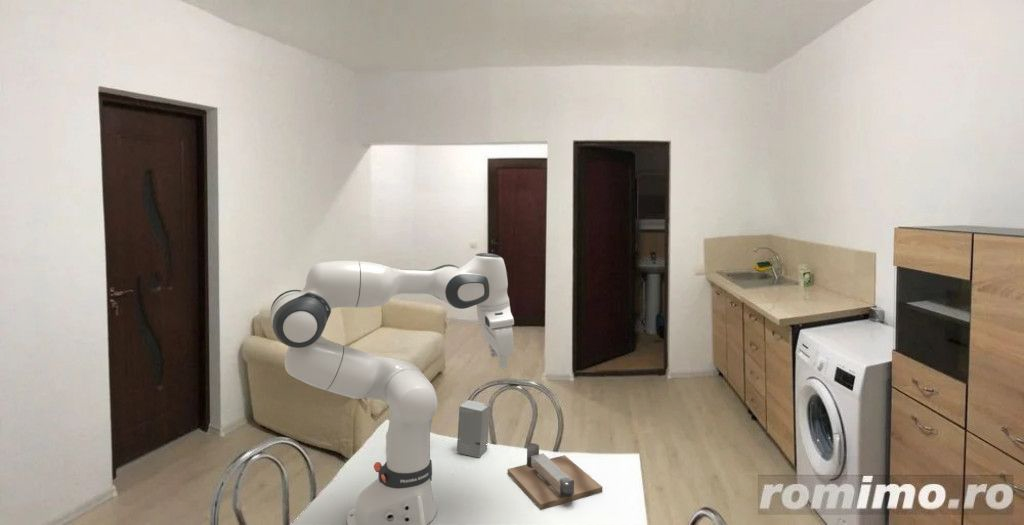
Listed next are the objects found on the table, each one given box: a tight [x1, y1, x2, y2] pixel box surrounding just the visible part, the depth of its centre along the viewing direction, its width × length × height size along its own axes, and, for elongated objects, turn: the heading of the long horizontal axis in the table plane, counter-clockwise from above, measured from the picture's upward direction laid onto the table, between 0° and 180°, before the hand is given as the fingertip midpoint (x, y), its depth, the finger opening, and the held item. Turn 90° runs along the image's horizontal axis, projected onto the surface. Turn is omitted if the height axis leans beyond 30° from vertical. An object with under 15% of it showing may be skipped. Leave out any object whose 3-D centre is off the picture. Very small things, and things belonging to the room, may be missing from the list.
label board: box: [507, 443, 603, 511], centre depth 156 cm, size 20×21×8 cm
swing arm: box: [531, 453, 574, 496], centre depth 152 cm, size 18×4×3 cm, turn 27°
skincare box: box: [456, 399, 491, 459], centre depth 173 cm, size 8×7×16 cm
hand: (498, 361), depth 146 cm, fingers open, 8 cm apart
